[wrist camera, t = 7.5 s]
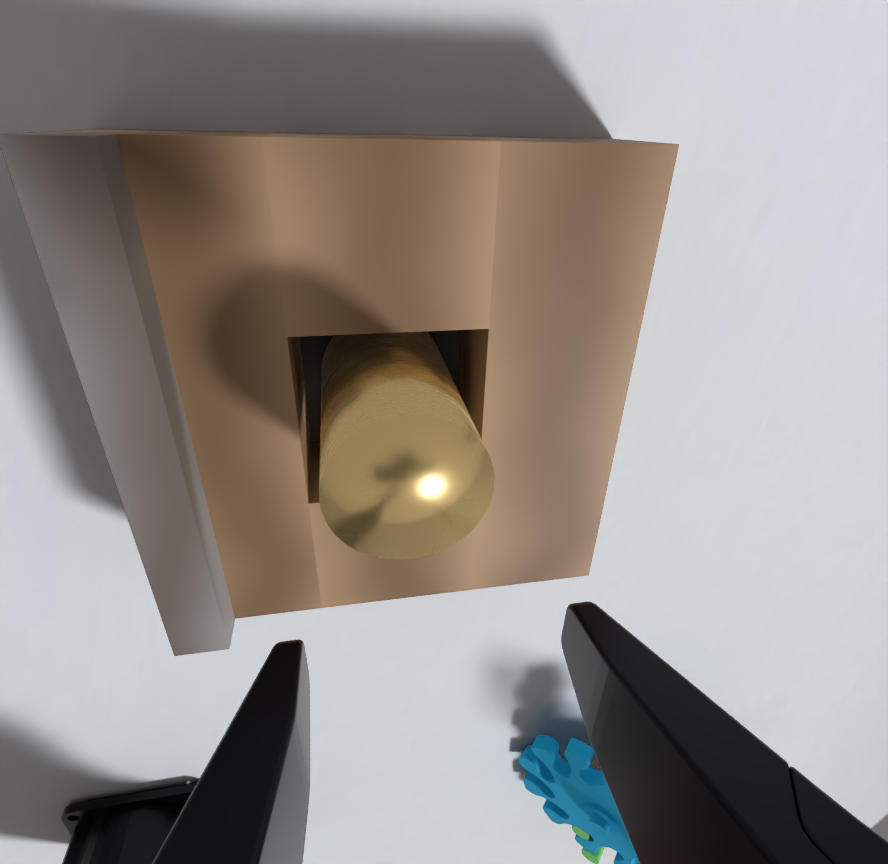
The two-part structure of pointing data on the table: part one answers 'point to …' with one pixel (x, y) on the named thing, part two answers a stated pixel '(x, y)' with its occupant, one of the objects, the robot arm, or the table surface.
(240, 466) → the jig
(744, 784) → the robot arm
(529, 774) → the gear
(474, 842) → the table surface
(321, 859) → the table surface
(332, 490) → the gold metal cylinder
